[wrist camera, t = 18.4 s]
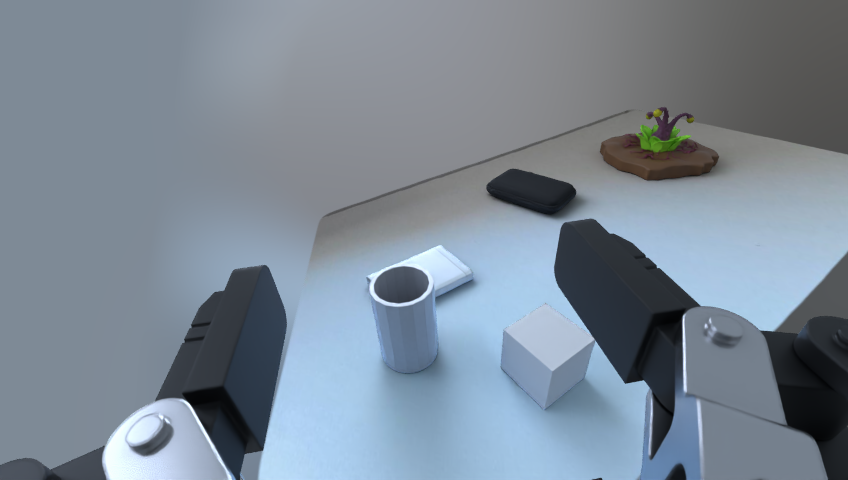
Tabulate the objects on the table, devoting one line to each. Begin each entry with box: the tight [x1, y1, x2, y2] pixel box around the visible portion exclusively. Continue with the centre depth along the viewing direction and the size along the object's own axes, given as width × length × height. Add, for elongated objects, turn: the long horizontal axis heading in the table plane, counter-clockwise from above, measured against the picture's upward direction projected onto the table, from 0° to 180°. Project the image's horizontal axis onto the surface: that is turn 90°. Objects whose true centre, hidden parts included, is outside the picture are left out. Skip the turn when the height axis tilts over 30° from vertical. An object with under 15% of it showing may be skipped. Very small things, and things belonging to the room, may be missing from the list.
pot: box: [369, 263, 438, 373], centre depth 40 cm, size 6×6×10 cm
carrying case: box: [487, 169, 576, 214], centre depth 69 cm, size 11×3×15 cm
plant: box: [600, 107, 719, 180], centre depth 77 cm, size 20×20×11 cm
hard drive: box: [367, 245, 474, 298], centre depth 52 cm, size 2×8×12 cm
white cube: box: [501, 303, 595, 410], centre depth 38 cm, size 6×6×6 cm
